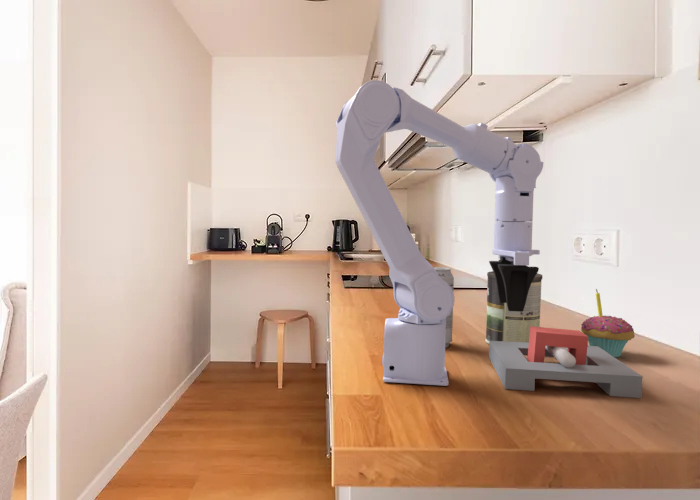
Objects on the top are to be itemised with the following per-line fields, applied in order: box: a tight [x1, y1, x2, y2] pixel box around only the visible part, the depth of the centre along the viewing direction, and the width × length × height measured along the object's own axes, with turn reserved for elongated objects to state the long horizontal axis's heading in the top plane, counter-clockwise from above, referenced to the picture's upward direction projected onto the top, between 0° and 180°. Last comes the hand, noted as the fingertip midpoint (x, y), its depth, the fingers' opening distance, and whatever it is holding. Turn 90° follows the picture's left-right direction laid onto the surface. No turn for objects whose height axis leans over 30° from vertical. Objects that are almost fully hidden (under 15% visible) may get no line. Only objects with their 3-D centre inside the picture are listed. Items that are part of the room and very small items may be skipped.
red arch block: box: [526, 326, 589, 365], centre depth 72 cm, size 8×4×6 cm, turn 81°
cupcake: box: [580, 288, 635, 358], centre depth 84 cm, size 9×8×12 cm
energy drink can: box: [434, 266, 455, 348], centre depth 89 cm, size 6×6×15 cm
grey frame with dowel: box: [488, 341, 643, 399], centre depth 72 cm, size 18×16×5 cm
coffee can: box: [484, 270, 543, 345], centre depth 91 cm, size 10×10×14 cm
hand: (510, 306), depth 73 cm, fingers open, 7 cm apart
